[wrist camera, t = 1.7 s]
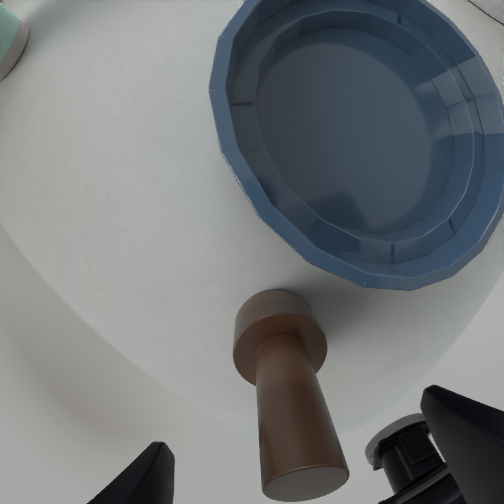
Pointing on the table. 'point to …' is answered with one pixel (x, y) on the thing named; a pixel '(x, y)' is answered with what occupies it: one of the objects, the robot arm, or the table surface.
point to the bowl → (362, 135)
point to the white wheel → (492, 8)
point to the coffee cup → (10, 40)
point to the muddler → (289, 396)
